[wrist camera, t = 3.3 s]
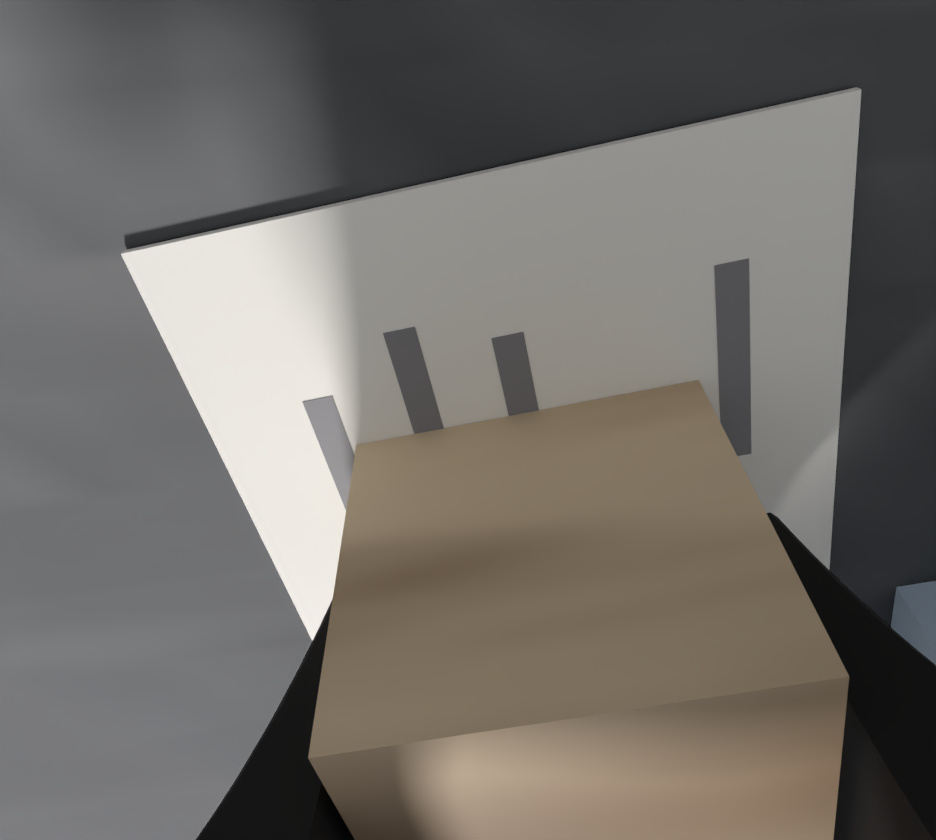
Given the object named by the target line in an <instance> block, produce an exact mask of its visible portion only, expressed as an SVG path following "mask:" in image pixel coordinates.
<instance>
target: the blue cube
mask: <svg viewBox="0 0 936 840" xmlns="http://www.w3.org/2000/svg"><path fill="white" fill-rule="evenodd" d="M891 628H892V629H893V630H895V631H896V632H897V633H898V634H899V635H900V636H902V637H903V638H904V639H905V640H906V641H907V642H909V643H910V644H911V645H912V646H913V647H914V648H916V649H917V650H918V651H919V652H920V653H922V654H923V655H924V656H925V657H927V658H928V659H929V660H930V661H931V662H933V663H934V664H935V665H936V581H931V582H925V583H918V584H912V585H906V586H900V587H896V593H895V600H894V607H893V614H892V621H891Z"/></svg>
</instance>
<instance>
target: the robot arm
mask: <svg viewBox="0 0 936 840" xmlns="http://www.w3.org/2000/svg"><path fill="white" fill-rule="evenodd" d="M767 515H768V517H769V519H770V521H771V523H772V525H773V527H774V529H775V531H776V533H777V535H778V537H779V539H780V541H781V543H782V545H783V547H784V549H785V551H786V553H787V555H788V557H789V559H790V561H791V563H792V565H793V567H794V569H795V571H796V572H797V574H798V576H799V578H800V580H801V582H802V584H803V586H804V588H805V590H806V592H807V594H808V596H809V598H810V600H811V602H812V604H813V606H814V608H815V610H816V612H817V614H818V616H819V618H820V620H821V622H822V624H823V626H824V628H825V630H826V632H827V633H828V635H829V637H830V639H831V641H832V643H833V645H834V647H835V649H836V651H837V653H838V655H839V657H840V659H841V661H842V663H843V665H844V667H845V669H846V671H847V673H848V675H849V685H848V695H847V706H846V716H845V726H844V736H843V747H842V757H841V767H840V777H839V788H838V798H837V808H836V818H835V829H834V839H833V840H936V665H935V664H934V663H933V662H931V661H930V660H929V659H928V658H927V657H925V656H924V655H923V654H922V653H920V652H919V651H918V650H917V649H916V648H914V647H913V646H912V645H911V644H910V643H909V642H907V641H906V640H905V639H904V638H903V637H902V636H900V635H899V634H898V633H897V632H896V631H895V630H893V629H892V628H891V627H890V626H889V625H888V624H887V623H886V622H885V621H883V620H882V619H881V618H880V617H879V616H878V615H877V614H876V613H874V612H873V611H872V610H871V609H870V608H869V607H868V606H867V605H866V604H864V603H863V602H862V601H861V600H860V599H859V598H858V597H857V596H856V595H855V594H854V593H852V592H851V591H850V590H849V589H848V588H847V587H846V586H845V585H844V584H843V583H842V582H841V581H840V580H839V579H838V578H837V577H836V576H835V575H834V574H833V573H832V572H831V571H830V570H829V569H827V568H826V567H825V566H824V565H823V564H822V563H821V562H820V561H819V560H818V559H817V558H816V557H815V556H814V555H813V554H812V553H811V552H810V551H809V550H808V549H807V548H806V546H805V545H804V544H803V543H802V542H801V541H800V540H799V539H798V538H797V537H796V536H795V535H794V534H793V533H792V532H791V531H790V530H789V529H788V528H787V526H786V525H785V524H784V523H783V522H782V521H781V520H780V519H779V518H778V517H777V516H775V515H774V514H772V513H771V512H770V513H767ZM331 606H332V601H331V603H330V605H329V608H328V610H327V612H326V614H325V616H324V618H323V620H322V622H321V625H320V627H319V629H318V631H317V633H316V635H315V637H314V639H313V641H312V643H311V645H310V647H309V649H308V651H307V653H306V655H305V657H304V659H303V661H302V663H301V665H300V667H299V669H298V671H297V673H296V675H295V677H294V679H293V681H292V682H291V684H290V686H289V688H288V690H287V692H286V694H285V696H284V697H283V699H282V701H281V703H280V705H279V707H278V709H277V711H276V712H275V714H274V716H273V718H272V720H271V721H270V723H269V725H268V727H267V728H266V730H265V732H264V734H263V735H262V737H261V739H260V740H259V742H258V744H257V745H256V747H255V749H254V750H253V752H252V754H251V755H250V757H249V759H248V760H247V762H246V764H245V765H244V767H243V769H242V770H241V772H240V774H239V775H238V777H237V779H236V780H235V782H234V783H233V785H232V787H231V788H230V790H229V791H228V793H227V794H226V796H225V797H224V799H223V801H222V802H221V804H220V805H219V807H218V808H217V810H216V811H215V813H214V814H213V816H212V817H211V819H210V820H209V822H208V823H207V824H206V826H205V827H204V829H203V830H202V832H201V833H200V834H199V836H198V837H197V839H196V840H355V839H354V838H353V836H352V834H351V832H350V831H349V829H348V827H347V825H346V824H345V822H344V820H343V818H342V817H341V815H340V813H339V811H338V810H337V808H336V806H335V804H334V803H333V801H332V799H331V797H330V796H329V794H328V792H327V790H326V789H325V787H324V785H323V783H322V782H321V780H320V778H319V777H318V775H317V773H316V771H315V770H314V768H313V766H312V764H311V763H310V761H309V759H308V755H309V749H310V742H311V736H312V729H313V723H314V716H315V710H316V703H317V697H318V690H319V684H320V677H321V671H322V664H323V658H324V651H325V645H326V638H327V632H328V625H329V619H330V612H331Z"/></svg>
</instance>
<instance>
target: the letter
mask: <svg viewBox="0 0 936 840" xmlns="http://www.w3.org/2000/svg"><path fill="white" fill-rule="evenodd" d="M860 104H861V89H860V88H858V87H855V88H851V89H846V90H842V91H837V92H833V93H828V94H824V95H819V96H815V97H810V98H806V99H801V100H797V101H792V102H788V103H783V104H779V105H774V106H770V107H765V108H761V109H756V110H752V111H747V112H743V113H738V114H734V115H729V116H725V117H720V118H716V119H711V120H707V121H703V122H698V123H694V124H689V125H685V126H680V127H676V128H671V129H667V130H662V131H658V132H653V133H649V134H644V135H640V136H635V137H631V138H626V139H622V140H617V141H613V142H608V143H604V144H599V145H595V146H590V147H586V148H581V149H577V150H572V151H568V152H563V153H559V154H554V155H550V156H545V157H541V158H536V159H532V160H527V161H523V162H518V163H514V164H509V165H505V166H500V167H496V168H491V169H487V170H482V171H478V172H473V173H469V174H464V175H460V176H455V177H451V178H446V179H442V180H437V181H433V182H428V183H424V184H419V185H415V186H410V187H406V188H401V189H397V190H392V191H388V192H383V193H379V194H374V195H370V196H365V197H361V198H357V199H352V200H348V201H343V202H339V203H334V204H330V205H325V206H321V207H316V208H312V209H307V210H303V211H298V212H294V213H289V214H285V215H280V216H276V217H271V218H267V219H262V220H258V221H253V222H249V223H244V224H240V225H235V226H231V227H226V228H222V229H217V230H213V231H208V232H204V233H199V234H195V235H190V236H186V237H181V238H177V239H172V240H168V241H163V242H159V243H154V244H150V245H145V246H141V247H136V248H132V249H127V250H124V251H123V252H122V253H121V255H122V257H123V259H124V261H125V263H126V265H127V267H128V269H129V271H130V274H131V276H132V278H133V280H134V282H135V284H136V286H137V288H138V290H139V292H140V294H141V296H142V298H143V300H144V302H145V304H146V306H147V308H148V310H149V312H150V314H151V316H152V318H153V320H154V322H155V324H156V326H157V328H158V330H159V332H160V334H161V336H162V338H163V340H164V342H165V344H166V346H167V348H168V350H169V352H170V354H171V356H172V358H173V360H174V362H175V364H176V366H177V368H178V370H179V373H180V375H181V377H182V379H183V381H184V383H185V385H186V387H187V389H188V391H189V393H190V395H191V397H192V399H193V401H194V403H195V405H196V407H197V409H198V411H199V413H200V415H201V417H202V419H203V421H204V423H205V425H206V427H207V429H208V431H209V433H210V435H211V437H212V439H213V441H214V443H215V445H216V447H217V449H218V451H219V453H220V455H221V457H222V459H223V461H224V463H225V465H226V467H227V469H228V472H229V474H230V476H231V478H232V480H233V482H234V484H235V486H236V488H237V490H238V492H239V494H240V496H241V498H242V500H243V502H244V504H245V506H246V508H247V510H248V512H249V514H250V516H251V518H252V520H253V522H254V524H255V526H256V528H257V530H258V532H259V534H260V536H261V538H262V540H263V542H264V544H265V546H266V548H267V550H268V552H269V554H270V556H271V558H272V560H273V562H274V564H275V566H276V569H277V571H278V573H279V575H280V577H281V579H282V581H283V583H284V585H285V587H286V589H287V591H288V593H289V595H290V597H291V599H292V601H293V603H294V605H295V607H296V609H297V611H298V613H299V615H300V617H301V619H302V621H303V623H304V625H305V627H306V629H307V631H308V633H309V635H310V637H311V639H312V641H313V639H314V637H315V635H316V633H317V631H318V629H319V627H320V625H321V622H322V620H323V618H324V616H325V614H326V612H327V610H328V608H329V605H330V603H331V601H332V599H333V593H334V586H335V580H336V573H337V567H338V560H339V554H340V547H341V541H342V535H343V528H344V522H345V515H346V509H347V502H348V496H349V489H350V483H351V476H352V470H353V463H354V457H355V450H356V445H360V444H365V443H370V442H376V441H381V440H386V439H391V438H397V437H402V436H407V435H412V434H418V433H423V432H428V431H433V430H439V429H444V428H449V427H454V426H460V425H465V424H470V423H475V422H481V421H486V420H491V419H496V418H502V417H507V416H512V415H517V414H523V413H528V412H533V411H538V410H544V409H549V408H554V407H559V406H565V405H570V404H575V403H580V402H586V401H591V400H596V399H601V398H607V397H612V396H617V395H622V394H628V393H633V392H638V391H643V390H649V389H654V388H659V387H664V386H670V385H675V384H680V383H685V382H691V381H696V380H699V382H700V384H701V386H702V387H703V389H704V391H705V393H706V395H707V397H708V399H709V401H710V403H711V405H712V407H713V409H714V411H715V413H716V415H717V417H718V419H719V421H720V423H721V425H722V427H723V429H724V431H725V433H726V435H727V437H728V439H729V441H730V443H731V445H732V447H733V448H734V450H735V452H736V454H737V456H738V458H739V460H740V462H741V464H742V466H743V468H744V470H745V472H746V474H747V476H748V478H749V480H750V482H751V484H752V486H753V488H754V490H755V492H756V494H757V496H758V498H759V500H760V502H761V504H762V506H763V508H764V509H765V511H766V513H770V512H771V513H772V514H774V515H775V516H777V517H778V518H779V519H780V520H781V521H782V522H783V523H784V524H785V525H786V526H787V528H788V529H789V530H790V531H791V532H792V533H793V534H794V535H795V536H796V537H797V538H798V539H799V540H800V541H801V542H802V543H803V544H804V545H805V546H806V548H807V549H808V550H809V551H810V552H811V553H812V554H813V555H814V556H815V557H816V558H817V559H818V560H819V561H820V562H821V563H822V564H823V565H824V566H825V567H826V568H827V569H830V554H831V539H832V524H833V509H834V494H835V479H836V464H837V449H838V434H839V419H840V404H841V389H842V374H843V359H844V344H845V329H846V314H847V299H848V284H849V269H850V254H851V239H852V224H853V209H854V194H855V179H856V164H857V149H858V134H859V119H860Z"/></svg>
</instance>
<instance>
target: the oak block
mask: <svg viewBox="0 0 936 840" xmlns="http://www.w3.org/2000/svg"><path fill="white" fill-rule="evenodd" d="M848 685H849V675H848V673H847V671H846V669H845V667H844V665H843V663H842V661H841V659H840V657H839V655H838V653H837V651H836V649H835V647H834V645H833V643H832V641H831V639H830V637H829V635H828V633H827V632H826V630H825V628H824V626H823V624H822V622H821V620H820V618H819V616H818V614H817V612H816V610H815V608H814V606H813V604H812V602H811V600H810V598H809V596H808V594H807V592H806V590H805V588H804V586H803V584H802V582H801V580H800V578H799V576H798V574H797V572H796V571H795V569H794V567H793V565H792V563H791V561H790V559H789V557H788V555H787V553H786V551H785V549H784V547H783V545H782V543H781V541H780V539H779V537H778V535H777V533H776V531H775V529H774V527H773V525H772V523H771V521H770V519H769V517H768V515H767V513H766V511H765V509H764V508H763V506H762V504H761V502H760V500H759V498H758V496H757V494H756V492H755V490H754V488H753V486H752V484H751V482H750V480H749V478H748V476H747V474H746V472H745V470H744V468H743V466H742V464H741V462H740V460H739V458H738V456H737V454H736V452H735V450H734V448H733V447H732V445H731V443H730V441H729V439H728V437H727V435H726V433H725V431H724V429H723V427H722V425H721V423H720V421H719V419H718V417H717V415H716V413H715V411H714V409H713V407H712V405H711V403H710V401H709V399H708V397H707V395H706V393H705V391H704V389H703V387H702V386H701V384H700V382H699V380H696V381H691V382H685V383H680V384H675V385H670V386H664V387H659V388H654V389H649V390H643V391H638V392H633V393H628V394H622V395H617V396H612V397H607V398H601V399H596V400H591V401H586V402H580V403H575V404H570V405H565V406H559V407H554V408H549V409H544V410H538V411H533V412H528V413H523V414H517V415H512V416H507V417H502V418H496V419H491V420H486V421H481V422H475V423H470V424H465V425H460V426H454V427H449V428H444V429H439V430H433V431H428V432H423V433H418V434H412V435H407V436H402V437H397V438H391V439H386V440H381V441H376V442H370V443H365V444H360V445H356V450H355V457H354V463H353V470H352V476H351V483H350V489H349V496H348V502H347V509H346V515H345V522H344V528H343V535H342V541H341V547H340V554H339V560H338V567H337V573H336V580H335V586H334V593H333V599H332V606H331V612H330V619H329V625H328V632H327V638H326V645H325V651H324V658H323V664H322V671H321V677H320V684H319V690H318V697H317V703H316V710H315V716H314V723H313V729H312V736H311V742H310V749H309V755H308V759H309V761H310V763H311V764H312V766H313V768H314V770H315V771H316V773H317V775H318V777H319V778H320V780H321V782H322V783H323V785H324V787H325V789H326V790H327V792H328V794H329V796H330V797H331V799H332V801H333V803H334V804H335V806H336V808H337V810H338V811H339V813H340V815H341V817H342V818H343V820H344V822H345V824H346V825H347V827H348V829H349V831H350V832H351V834H352V836H353V838H354V839H355V840H833V839H834V829H835V818H836V808H837V798H838V788H839V777H840V767H841V757H842V747H843V736H844V726H845V716H846V706H847V695H848Z"/></svg>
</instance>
